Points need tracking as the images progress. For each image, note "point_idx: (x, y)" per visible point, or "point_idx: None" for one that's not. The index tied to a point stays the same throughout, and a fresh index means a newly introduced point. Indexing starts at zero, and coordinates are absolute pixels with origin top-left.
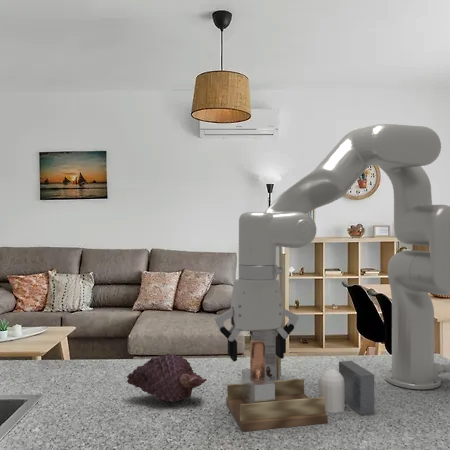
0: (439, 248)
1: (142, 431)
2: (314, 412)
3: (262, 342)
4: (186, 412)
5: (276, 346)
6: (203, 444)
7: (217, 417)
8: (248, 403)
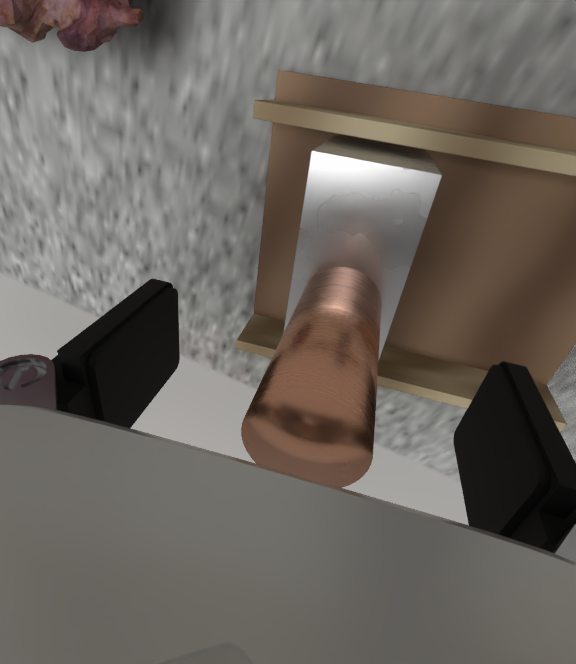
0: None
1: (2, 205)
2: None
3: (330, 479)
4: (117, 105)
5: (500, 425)
6: None
7: (216, 200)
8: (265, 346)
